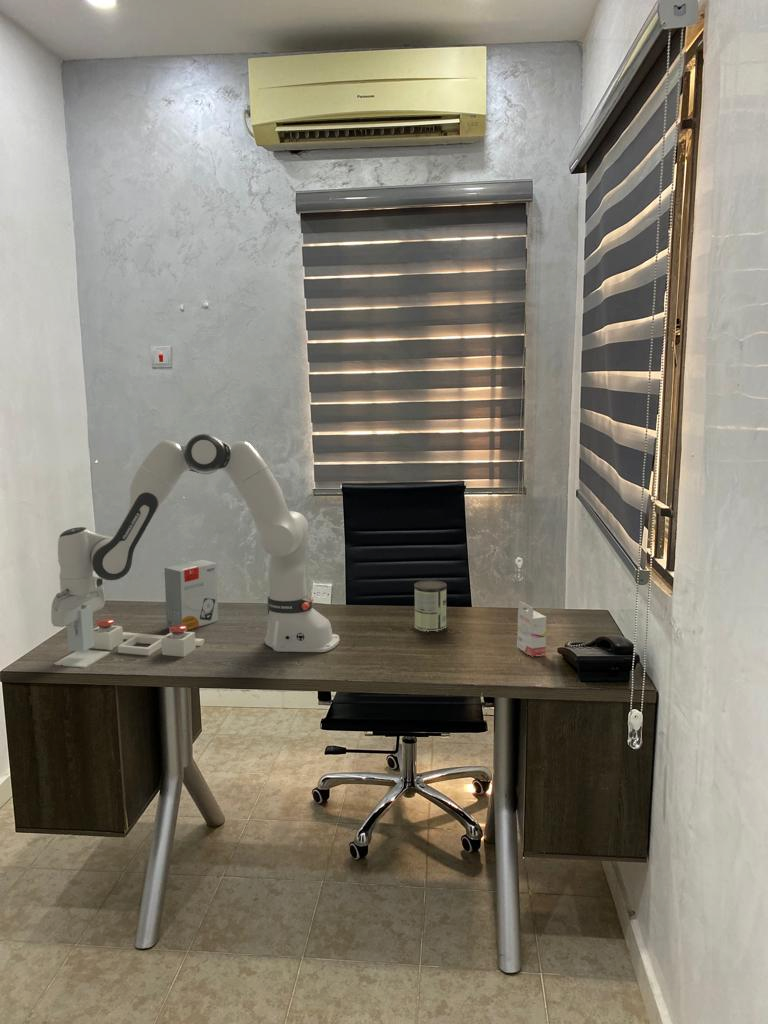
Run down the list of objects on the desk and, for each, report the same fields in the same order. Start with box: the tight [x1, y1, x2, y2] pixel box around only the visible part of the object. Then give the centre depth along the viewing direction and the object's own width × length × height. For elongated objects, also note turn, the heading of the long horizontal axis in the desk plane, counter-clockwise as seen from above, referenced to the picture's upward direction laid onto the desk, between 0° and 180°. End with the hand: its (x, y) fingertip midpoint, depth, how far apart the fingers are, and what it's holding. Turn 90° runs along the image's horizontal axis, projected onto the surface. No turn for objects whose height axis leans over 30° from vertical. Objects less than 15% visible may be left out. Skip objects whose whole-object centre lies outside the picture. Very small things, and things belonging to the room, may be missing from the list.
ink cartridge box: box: [516, 600, 547, 656], centre depth 233 cm, size 9×5×15 cm, turn 21°
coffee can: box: [413, 579, 448, 632], centre depth 256 cm, size 10×10×14 cm
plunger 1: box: [95, 617, 115, 632], centre depth 241 cm, size 5×5×7 cm
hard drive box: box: [164, 559, 219, 631], centre depth 259 cm, size 16×8×20 cm, turn 143°
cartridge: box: [66, 603, 94, 652], centre depth 229 cm, size 5×5×13 cm
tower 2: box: [161, 631, 197, 658], centre depth 235 cm, size 7×7×5 cm
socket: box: [117, 631, 205, 656], centre depth 240 cm, size 32×13×2 cm, turn 76°
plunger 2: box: [168, 624, 188, 639], centre depth 235 cm, size 5×5×7 cm
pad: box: [53, 649, 111, 669], centre depth 230 cm, size 10×12×1 cm
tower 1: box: [90, 625, 124, 651], centre depth 241 cm, size 7×7×5 cm
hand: (80, 632), depth 229 cm, fingers closed on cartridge, 5 cm apart
